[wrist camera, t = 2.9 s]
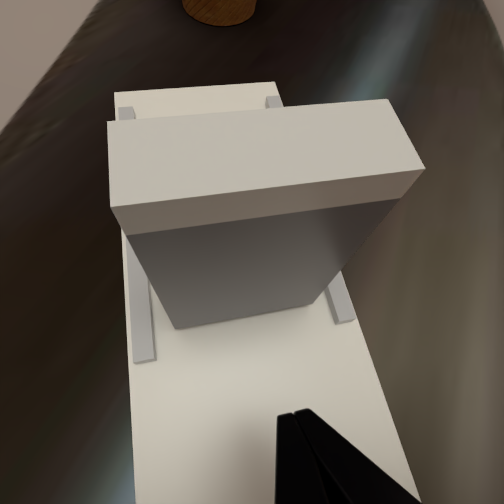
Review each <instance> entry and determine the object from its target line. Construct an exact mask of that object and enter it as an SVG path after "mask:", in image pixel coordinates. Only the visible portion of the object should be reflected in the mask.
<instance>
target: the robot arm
mask: <svg viewBox="0 0 504 504" xmlns="http://www.w3.org/2000/svg"><path fill="white" fill-rule="evenodd" d="M274 504H422V503H421V502H420V501H419V500H417V499H416V498H415V497H414V496H413V495H412V494H410V493H409V492H408V491H407V490H406V489H404V488H403V487H402V486H401V485H400V484H399V483H397V482H396V481H395V480H394V479H393V478H391V477H390V476H389V475H388V474H387V473H386V472H384V471H383V470H382V469H381V468H380V467H378V466H377V465H376V464H375V463H374V462H373V461H371V460H370V459H369V458H368V457H367V456H365V455H364V454H363V453H362V452H361V451H360V450H358V449H357V448H356V447H355V446H354V445H352V444H351V443H350V442H349V441H348V440H347V439H345V438H344V437H343V436H342V435H341V434H339V433H338V432H337V431H336V430H335V429H334V428H332V427H331V426H330V425H329V424H328V423H326V422H325V421H324V420H323V419H322V418H321V417H319V416H318V415H317V414H316V413H315V412H313V411H312V410H311V409H309V408H305V409H301V410H297V411H295V412H294V413H292V412H289V413H285V414H280V415H278V416H277V421H276V458H275V496H274Z"/></svg>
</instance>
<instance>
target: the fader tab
mask: <svg viewBox="0 0 504 504" xmlns="http://www.w3.org/2000/svg"><path fill="white" fill-rule="evenodd" d="M107 129H108V155H109V182H110V207H111V209H112V211H113V213H114V215H115V217H116V219H117V220H118V222H119V224H120V226H121V228H122V230H123V232H124V234H125V236H126V237H127V239H128V241H129V243H130V245H131V247H132V249H133V251H134V253H135V255H136V256H137V258H138V260H139V262H140V264H141V266H142V268H143V270H144V272H145V274H146V275H147V277H148V279H149V281H150V283H151V285H152V287H153V289H154V291H155V293H156V294H157V296H158V298H159V300H160V302H161V304H162V306H163V308H164V310H165V312H166V313H167V315H168V317H169V319H170V321H171V323H172V325H173V327H174V329H180V328H185V327H191V326H196V325H201V324H207V323H212V322H217V321H223V320H228V319H234V318H239V317H244V316H250V315H255V314H260V313H266V312H271V311H276V310H282V309H287V308H293V307H298V306H303V305H309V304H313V303H314V302H315V300H316V299H317V298H318V297H319V296H320V294H321V293H322V292H323V291H324V290H325V288H326V287H327V286H328V285H329V284H330V282H331V281H332V280H333V279H334V278H335V276H336V275H337V274H338V273H339V272H340V270H341V269H342V268H343V267H344V266H345V264H346V263H347V262H348V261H349V260H350V258H351V257H352V256H353V255H354V254H355V252H356V251H357V250H358V249H359V248H360V246H361V245H362V244H363V243H364V242H365V240H366V239H367V238H368V237H369V236H370V234H371V233H372V232H373V231H374V230H375V228H376V227H377V226H378V225H379V224H380V222H381V221H382V220H383V219H384V218H385V216H386V215H387V214H388V213H389V212H390V210H391V209H392V208H393V207H394V206H395V204H396V203H397V202H398V201H399V200H400V198H401V197H402V196H403V195H404V194H405V192H406V191H407V190H408V189H409V188H410V186H411V185H412V184H413V183H414V182H415V180H416V179H417V178H418V177H419V176H420V174H421V173H422V172H423V171H424V170H425V167H424V165H423V163H422V162H421V160H420V158H419V156H418V154H417V152H416V151H415V149H414V147H413V145H412V143H411V141H410V139H409V138H408V136H407V134H406V132H405V130H404V128H403V126H402V125H401V123H400V121H399V119H398V117H397V115H396V114H395V112H394V110H393V108H392V106H391V104H390V102H389V101H388V99H380V100H367V101H355V102H342V103H330V104H317V105H305V106H293V107H280V108H268V109H255V110H243V111H231V112H218V113H206V114H193V115H181V116H168V117H156V118H144V119H131V120H119V121H107Z"/></svg>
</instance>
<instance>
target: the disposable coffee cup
mask: <svg viewBox="0 0 504 504" xmlns="http://www.w3.org/2000/svg"><path fill="white" fill-rule="evenodd" d="M182 2H183V7H184V9H185V10H186V12H187V13H188V14H189V15H190V16H191V17H193V18H194V19H196V20H198V21H200V22H203V23H206V24H210V25H216V26H230V25H236V24H239V23H242V22H244V21H246V20H248V19H249V18H250V17H251V16H252V15H253V13H254V10H255V4H256V0H182Z"/></svg>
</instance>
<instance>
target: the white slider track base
mask: <svg viewBox="0 0 504 504" xmlns="http://www.w3.org/2000/svg"><path fill="white" fill-rule="evenodd" d="M114 97H115V116H116V121H119V120H131V119H144V118H156V117H168V116H181V115H193V114H206V113H218V112H231V111H243V110H255V109H268V108H280V107H283V105H282V102H281V99H280V96H279V93H278V90H277V87H276V85H275V82H264V83H249V84H234V85H219V86H204V87H189V88H174V89H159V90H144V91H129V92H114ZM121 230H122V228H121ZM122 249H123V268H124V287H125V306H126V325H127V344H128V363H129V382H130V401H131V420H132V439H133V458H134V477H135V496H136V504H274V496H275V458H276V421H277V416H278V415H280V414H285V413H289V412H292V413H294V412H295V411H297V410H301V409H305V408H309V409H311V410H312V411H313V412H315V413H316V414H317V415H318V416H319V417H321V418H322V419H323V420H324V421H325V422H326V423H328V424H329V425H330V426H331V427H332V428H334V429H335V430H336V431H337V432H338V433H339V434H341V435H342V436H343V437H344V438H345V439H347V440H348V441H349V442H350V443H351V444H352V445H354V446H355V447H356V448H357V449H358V450H360V451H361V452H362V453H363V454H364V455H365V456H367V457H368V458H369V459H370V460H371V461H373V462H374V463H375V464H376V465H377V466H378V467H380V468H381V469H382V470H383V471H384V472H386V473H387V474H388V475H389V476H390V477H391V478H393V479H394V480H395V481H396V482H397V483H399V484H400V485H401V486H402V487H403V488H404V489H406V490H407V491H408V492H409V493H410V494H412V495H413V496H414V497H415V498H416V499H417V500H419V501H420V502H421V500H420V497H419V494H418V491H417V488H416V486H415V483H414V480H413V477H412V474H411V471H410V468H409V466H408V463H407V460H406V457H405V454H404V451H403V448H402V445H401V443H400V440H399V437H398V434H397V431H396V428H395V425H394V423H393V420H392V417H391V414H390V411H389V408H388V405H387V403H386V400H385V397H384V394H383V391H382V388H381V385H380V382H379V380H378V377H377V374H376V371H375V368H374V365H373V362H372V360H371V357H370V354H369V351H368V348H367V345H366V342H365V339H364V337H363V334H362V331H361V328H360V325H359V322H358V319H357V317H356V314H355V311H354V308H353V305H352V302H351V299H350V297H349V294H348V291H347V288H346V285H345V282H344V279H343V276H342V274H341V271H340V272H339V273H338V274H337V275H336V276H335V278H334V279H333V280H332V281H331V282H330V284H329V285H328V286H327V287H326V288H325V290H324V291H323V292H322V293H321V294H320V296H319V297H318V298H317V299H316V300H315V302H314V303H313V304H309V305H303V306H298V307H293V308H287V309H282V310H276V311H271V312H266V313H260V314H255V315H250V316H244V317H239V318H234V319H228V320H223V321H217V322H212V323H207V324H201V325H196V326H191V327H185V328H180V329H174V327H173V325H172V323H171V321H170V319H169V317H168V315H167V313H166V312H165V310H164V308H163V306H162V304H161V302H160V300H159V298H158V296H157V294H156V293H155V291H154V289H153V287H152V285H151V283H150V281H149V279H148V277H147V275H146V274H145V272H144V270H143V268H142V266H141V264H140V262H139V260H138V258H137V256H136V255H135V253H134V251H133V249H132V247H131V245H130V243H129V241H128V239H127V237H126V236H125V234H124V232H123V230H122Z"/></svg>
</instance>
